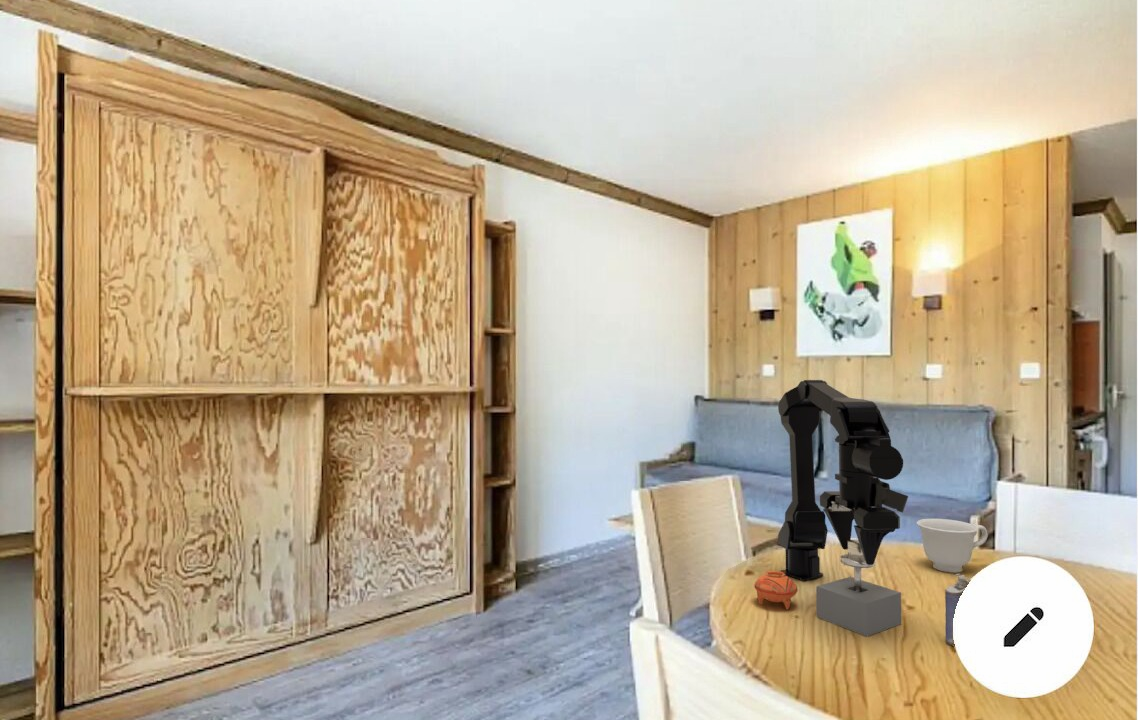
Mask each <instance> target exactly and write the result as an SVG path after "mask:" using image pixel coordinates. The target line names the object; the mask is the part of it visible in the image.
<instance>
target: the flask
mask: <svg viewBox="0 0 1138 720" xmlns="http://www.w3.org/2000/svg"><path fill="white" fill-rule="evenodd" d="M956 577H957V580H956V583H954V584H952V585H950V586H948V587H946V589H945V591H944V595H945V596H944V598H945V613H944V614H945V626H944V627H945V644H946V645H947V646H952V647H954V648H956V647H955V644H954V640H953V618H954V614H955V609H956V606H957V603H958V601H959V598H960V596H961V595H962V593H963V591H964V590H965V588H966V587H967V585H968V584H969V582H970V581H971V579H969V577H967V576H965V575H964V574H961V573H955V575H954V578H956Z"/></svg>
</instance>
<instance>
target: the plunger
mask: <svg viewBox="0 0 1138 720" xmlns="http://www.w3.org/2000/svg"><path fill="white" fill-rule="evenodd" d="M840 562H841V564H843V565H845V566H847V567H852V568H853V575H854V576H853V578H854V590H853V591H856V592H859V593H861V592H863V591H862V583H861V580H862V569H868V568H869V569H871V568H874V567H875V566H876V560H875V561H874V564H873V565H868V564H866V561H865V559H864V556H863V553H862V550H861V547H860V544H859V541H858V539H851V540H848V549H847V553H845V554H842V555H841V556H840Z"/></svg>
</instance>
